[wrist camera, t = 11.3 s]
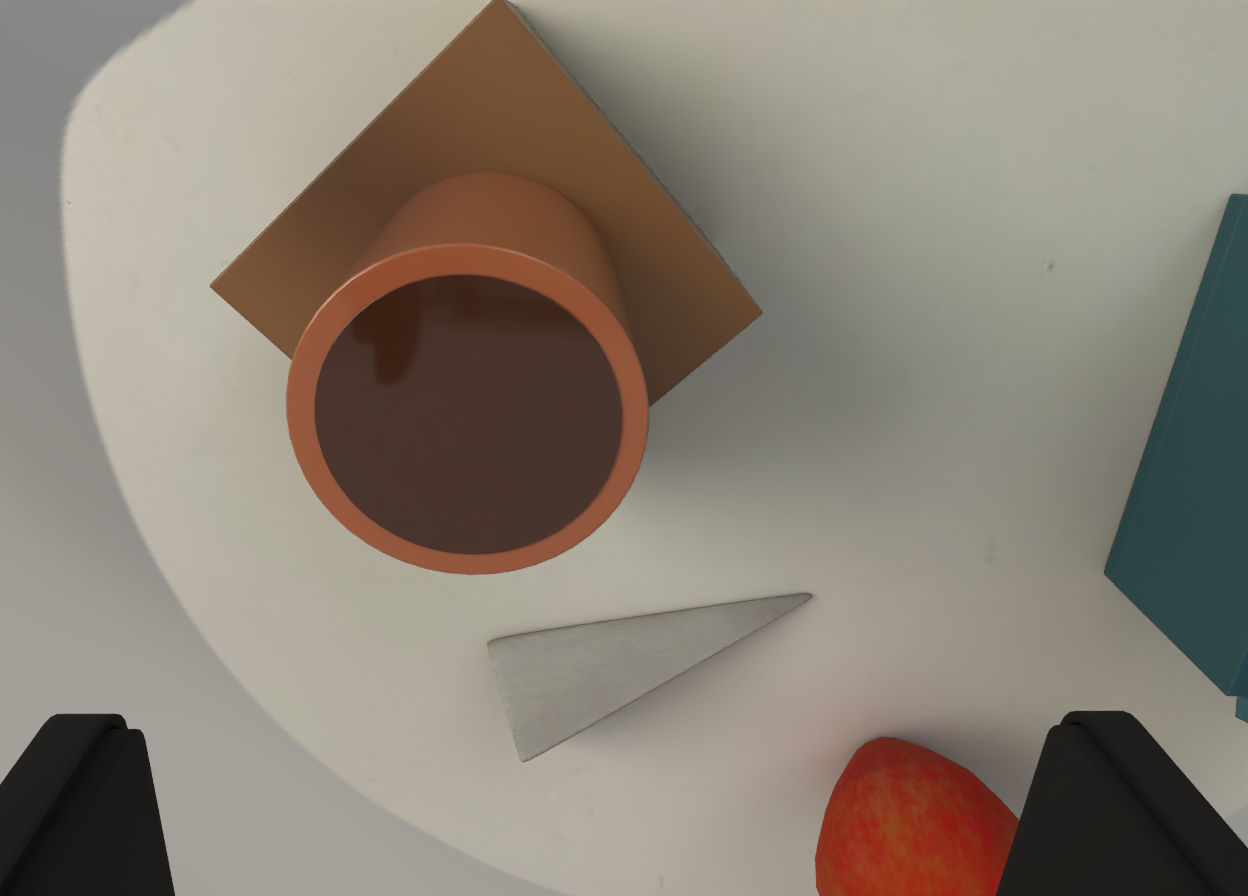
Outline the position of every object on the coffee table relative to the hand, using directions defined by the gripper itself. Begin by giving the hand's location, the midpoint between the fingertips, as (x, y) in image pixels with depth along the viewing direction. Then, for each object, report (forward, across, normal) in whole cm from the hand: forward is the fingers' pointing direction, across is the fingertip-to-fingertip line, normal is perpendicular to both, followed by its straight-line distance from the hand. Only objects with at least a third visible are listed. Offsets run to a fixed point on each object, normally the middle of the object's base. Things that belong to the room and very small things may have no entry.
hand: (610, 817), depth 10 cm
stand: (+24, +2, -1) cm, 24 cm away
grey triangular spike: (+24, -4, +15) cm, 29 cm away
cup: (+16, +2, -1) cm, 16 cm away
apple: (+24, -15, +22) cm, 36 cm away
